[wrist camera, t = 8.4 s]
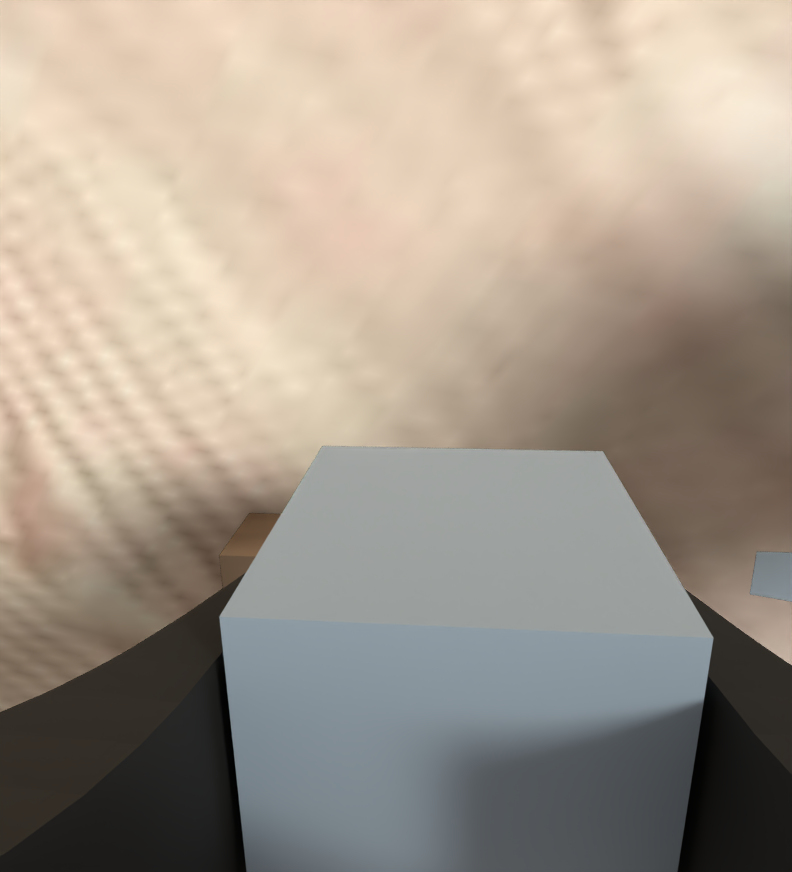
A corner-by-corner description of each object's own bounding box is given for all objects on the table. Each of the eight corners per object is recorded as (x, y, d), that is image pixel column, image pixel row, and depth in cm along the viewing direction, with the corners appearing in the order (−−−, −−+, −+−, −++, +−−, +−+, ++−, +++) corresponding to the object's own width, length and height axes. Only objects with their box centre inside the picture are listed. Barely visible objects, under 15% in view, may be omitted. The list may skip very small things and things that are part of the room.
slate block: (602, 451, 11) (712, 638, 6) (582, 688, 12) (658, 992, 7) (322, 445, 11) (219, 616, 6) (333, 676, 13) (255, 956, 8)
